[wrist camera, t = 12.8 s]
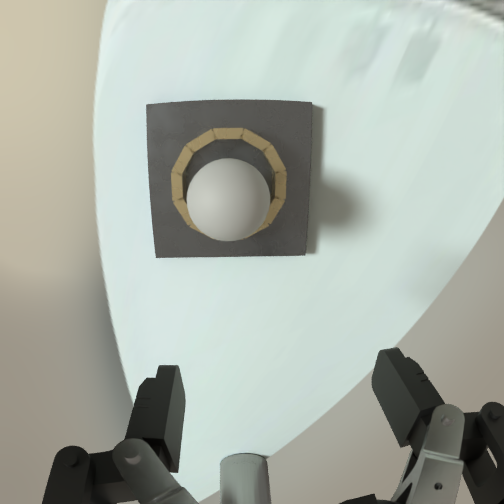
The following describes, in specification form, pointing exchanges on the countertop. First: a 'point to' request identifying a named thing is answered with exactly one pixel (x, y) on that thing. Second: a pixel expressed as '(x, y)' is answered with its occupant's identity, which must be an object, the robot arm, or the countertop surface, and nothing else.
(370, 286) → the countertop surface
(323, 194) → the countertop surface
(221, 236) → the lightbulb
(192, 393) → the countertop surface
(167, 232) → the lamp socket
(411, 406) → the robot arm
